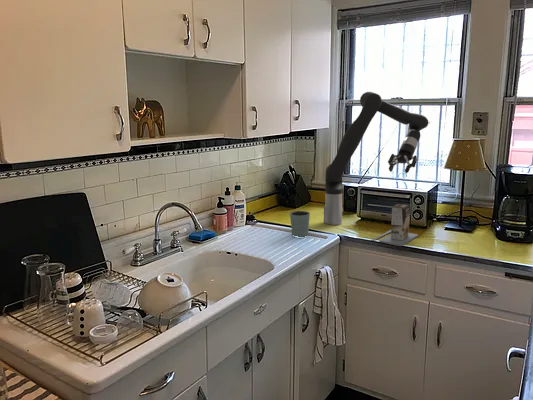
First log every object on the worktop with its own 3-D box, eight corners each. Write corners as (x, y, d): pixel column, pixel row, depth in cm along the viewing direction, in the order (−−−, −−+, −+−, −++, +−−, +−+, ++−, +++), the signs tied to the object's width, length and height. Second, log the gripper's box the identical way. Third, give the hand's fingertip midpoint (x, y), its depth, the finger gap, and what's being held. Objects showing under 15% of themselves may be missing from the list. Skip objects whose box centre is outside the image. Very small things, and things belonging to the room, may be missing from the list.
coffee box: (403, 240, 219) (404, 208, 215) (390, 238, 222) (391, 207, 219) (408, 235, 226) (410, 204, 223) (396, 233, 230) (397, 203, 226)
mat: (379, 241, 221) (379, 240, 220) (397, 232, 235) (397, 230, 235) (400, 246, 214) (400, 244, 213) (418, 236, 228) (418, 234, 228)
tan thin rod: (370, 240, 223) (370, 239, 223) (390, 230, 239) (390, 229, 239) (373, 241, 222) (373, 240, 222) (393, 230, 238) (393, 230, 238)
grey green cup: (295, 239, 227) (295, 216, 224) (286, 234, 236) (286, 211, 234) (313, 236, 231) (313, 214, 228) (304, 231, 240) (304, 209, 237)
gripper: (393, 142, 243) (383, 166, 237) (419, 143, 234) (409, 168, 228) (397, 151, 248) (387, 174, 242) (423, 152, 239) (412, 177, 233)
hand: (397, 171), depth 235 cm, fingers open, 8 cm apart
